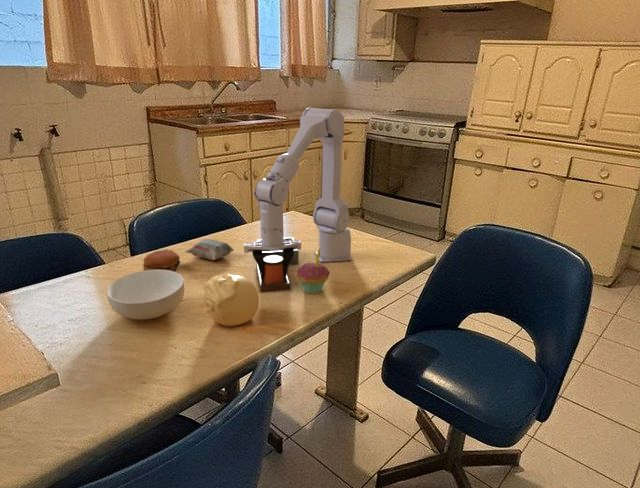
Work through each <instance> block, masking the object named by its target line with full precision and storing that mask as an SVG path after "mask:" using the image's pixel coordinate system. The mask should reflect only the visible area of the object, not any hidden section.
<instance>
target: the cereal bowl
mask: <svg viewBox="0 0 640 488" xmlns="http://www.w3.org/2000/svg"><path fill="white" fill-rule="evenodd" d="M185 285H186V284H185V280H184V277H183V276H182V275H181V274H180V273H178V272H176V271H174V270H172V271H169V270H146V271H144V270H141V271H136V272H132V273H128V274H126V275H124V276H121V277H120V278H117V279H116V280H114V281H113V282H112V283H110V284H109V285H108V287H107V290H106V297H107V301H108V304H109V305H110V307H111V309H112V311H114V312H115V313H116V314H118V315H119V316H121V317H124V318H125V319H130V320H152V319H156V318H159V317H162V316H164V315H166V314H168V313H169V312H171V311H173V310H174V309H176V308H177V307H178V306H179V305H180V304H181V302H182V300H183V299H184V297H185V291H186V288H185V287H186V286H185Z"/></svg>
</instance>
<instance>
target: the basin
mask: <svg viewBox="0 0 640 488" xmlns="http://www.w3.org/2000/svg"><path fill="white" fill-rule="evenodd" d="M284 240H295V239H294V236H293V237H284ZM257 241H261V238H259V239H258V238H257ZM257 241H256V242H257ZM293 251H294V256H293V258H292V259H291V261H290V264H289V266H296V265H299V250H297V249H293ZM262 253H263V258H264V257H266V256H270V255H278V256H281V257H283V250H278V251H262Z"/></svg>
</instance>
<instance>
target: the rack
mask: <svg viewBox="0 0 640 488" xmlns="http://www.w3.org/2000/svg"><path fill="white" fill-rule="evenodd" d="M263 269H264V268H263ZM256 273H257V278H258V284H259V290H260V293H265V292H277V291H288V290H290V289H291V283H290V279H289V277H288V274H287V275H286V276H284V283H275V284H264V278H262V277H261V272H260V269H259V266H258V264H257V263H256Z"/></svg>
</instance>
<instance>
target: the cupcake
mask: <svg viewBox="0 0 640 488" xmlns="http://www.w3.org/2000/svg"><path fill="white" fill-rule="evenodd" d="M317 251H318V253H317V255H316V258H315V259H316V260H315V262H306V263H303V264H302V265H300V266H299V267H297V269H296V273H295V278H296V279H297V280H298V281H300V283H301V285H302V288H303V290H304V292H306V293H308V294H318V293H321V292H322V291H323V288H324V285H325V283H326V282H327V280H329V277H330V274H331V272H330V270H329V268H327V267H326V266H325V265H324V264H322V263H320V261H319V257H320V249H319V248H318V250H317Z"/></svg>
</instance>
